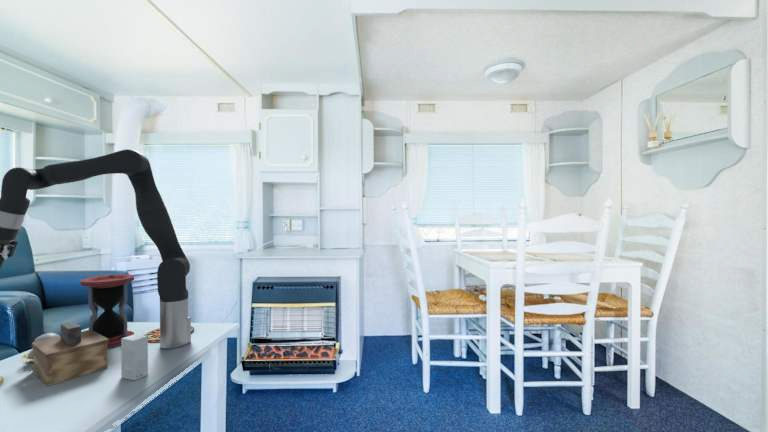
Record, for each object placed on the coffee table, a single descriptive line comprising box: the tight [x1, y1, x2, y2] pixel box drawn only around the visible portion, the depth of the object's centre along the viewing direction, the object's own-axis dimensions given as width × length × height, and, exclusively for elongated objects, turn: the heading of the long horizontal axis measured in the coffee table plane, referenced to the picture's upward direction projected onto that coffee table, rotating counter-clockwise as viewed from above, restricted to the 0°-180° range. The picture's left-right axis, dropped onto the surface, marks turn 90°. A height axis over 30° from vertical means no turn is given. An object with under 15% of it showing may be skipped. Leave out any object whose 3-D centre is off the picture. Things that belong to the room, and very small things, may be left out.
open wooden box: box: [32, 344, 109, 387], centre depth 108 cm, size 14×16×8 cm
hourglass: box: [80, 273, 135, 349], centre depth 131 cm, size 16×16×25 cm
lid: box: [31, 321, 109, 359], centre depth 108 cm, size 15×17×7 cm
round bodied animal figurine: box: [26, 332, 61, 360], centre depth 117 cm, size 7×12×8 cm, turn 123°
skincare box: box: [120, 333, 149, 381], centre depth 103 cm, size 6×4×12 cm
